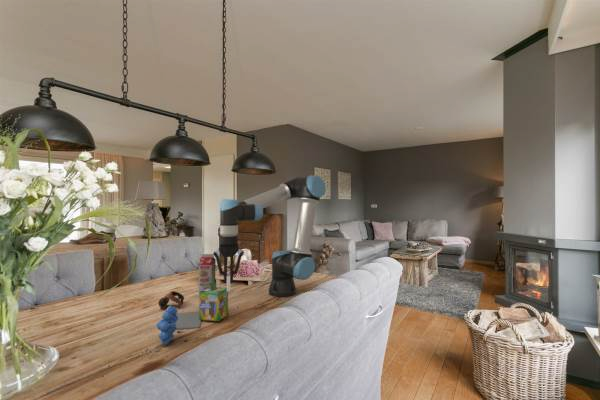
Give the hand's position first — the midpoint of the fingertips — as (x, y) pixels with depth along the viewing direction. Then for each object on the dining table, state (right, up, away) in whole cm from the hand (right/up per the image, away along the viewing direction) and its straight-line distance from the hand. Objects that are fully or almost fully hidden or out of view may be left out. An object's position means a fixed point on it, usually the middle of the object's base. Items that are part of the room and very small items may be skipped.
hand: (228, 290), depth 124 cm
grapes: (-16, -11, -22) cm, 30 cm away
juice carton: (-19, -12, +30) cm, 37 cm away
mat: (-17, -11, -4) cm, 21 cm away
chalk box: (-6, -11, -1) cm, 13 cm away
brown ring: (-30, -12, +11) cm, 34 cm away
